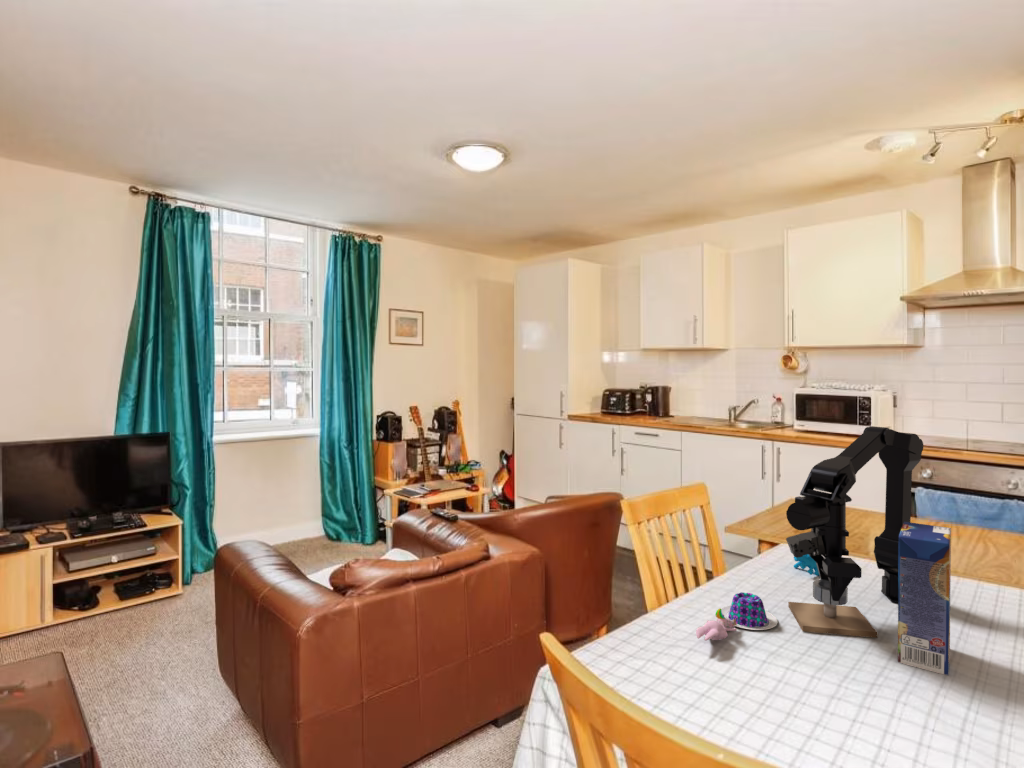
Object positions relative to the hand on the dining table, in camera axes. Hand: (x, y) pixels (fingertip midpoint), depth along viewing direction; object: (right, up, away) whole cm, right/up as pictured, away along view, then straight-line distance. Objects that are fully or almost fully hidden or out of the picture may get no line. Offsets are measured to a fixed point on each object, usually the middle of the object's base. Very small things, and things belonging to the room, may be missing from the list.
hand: (830, 594), depth 121 cm
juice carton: (+10, -7, -14) cm, 19 cm away
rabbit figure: (-27, -7, -6) cm, 29 cm away
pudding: (-17, -7, +2) cm, 19 cm away
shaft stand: (0, -6, 0) cm, 6 cm away
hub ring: (0, -1, 0) cm, 1 cm away
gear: (+11, -5, +29) cm, 31 cm away
